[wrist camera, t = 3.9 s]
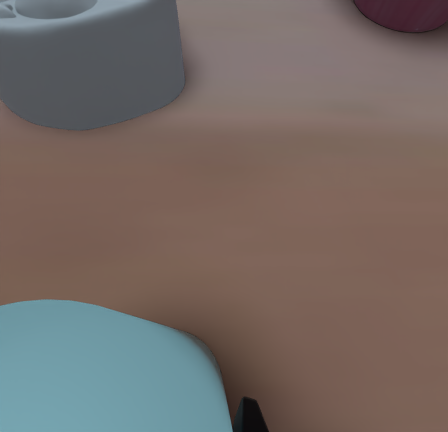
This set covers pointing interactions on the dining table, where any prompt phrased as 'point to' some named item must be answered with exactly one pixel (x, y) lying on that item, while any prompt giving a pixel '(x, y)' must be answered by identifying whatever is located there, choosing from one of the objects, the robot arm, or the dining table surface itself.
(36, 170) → the dining table surface
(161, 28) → the lumpy-topped squat cylinder
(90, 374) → the aqua tapered cylinder
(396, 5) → the plant pot
